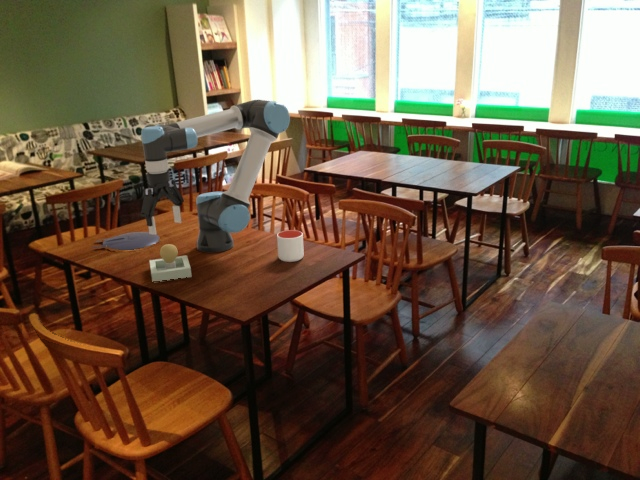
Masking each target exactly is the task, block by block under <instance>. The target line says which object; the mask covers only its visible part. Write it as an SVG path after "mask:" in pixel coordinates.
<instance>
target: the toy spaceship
mask: <svg viewBox="0 0 640 480" xmlns="http://www.w3.org/2000/svg"><path fill="white" fill-rule="evenodd" d="M160 237H161V236H159V234H156V235H153V234H149V231H136V232H135V231H133V232H127V233H123V234H119V235H115V236H111V237H108V238H104V239H97V240H95V242H102V244H101V245H96V246H92V247H91V249H92V248H97V247H109V248H111V249H118V250H134V249H140V248H144V247H148V246H151V245H153V244H156V243H157V242H158V241H160V240H159V239H160ZM101 240H104V241H101ZM160 242H161V241H160Z"/></svg>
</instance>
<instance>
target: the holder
mask: <svg viewBox="0 0 640 480" xmlns="http://www.w3.org/2000/svg"><path fill="white" fill-rule="evenodd" d="M174 261H175V264H176V268H174V269H167V270H166V267H165V261H164V260H163V259H162V258H156V259H149V266H150V276H151V281H152V282H153V281H160V282H163V281H162V280H167V281H171V280H170V279H174V280H179V279H178V278H181V279H185V278H186V277H187V278H192V276H193V275H192V268H191V265H190V261H189V258H188V255H180V256H178V255H177V257H176V259H175V260H174ZM187 278H186V279H187Z"/></svg>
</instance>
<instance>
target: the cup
mask: <svg viewBox="0 0 640 480" xmlns="http://www.w3.org/2000/svg"><path fill="white" fill-rule="evenodd" d="M303 236H304V233H303V232H302V231H300V230H297V229H290V230H288V229H287V230H282V231H280V232H278V233H277V234H276V240H277V241H276V242H277V256H278V259H279V260H281V261H282V262H285V263H287V262H288V263H292V262H298V261H300V260H302V259H303V257H304V255H305V254H304V252H305V251H304V249H305V248H304V237H303Z"/></svg>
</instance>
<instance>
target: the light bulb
mask: <svg viewBox="0 0 640 480" xmlns="http://www.w3.org/2000/svg"><path fill="white" fill-rule="evenodd" d="M178 253H179V252H178V249H177V247H176V245H174V244H171V243H168V244H167V243H166V244H164V245H162V247H160V250H159V255H160V257H161V259H163V260H164V261H165V267H166V270H167V269H174V268H176V264H175V261H174V260H175V259H176V257H178Z"/></svg>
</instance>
